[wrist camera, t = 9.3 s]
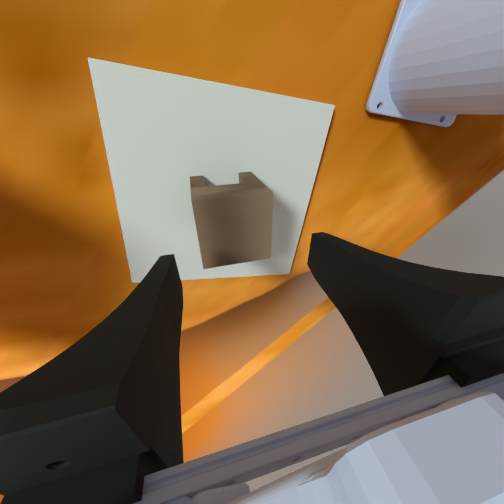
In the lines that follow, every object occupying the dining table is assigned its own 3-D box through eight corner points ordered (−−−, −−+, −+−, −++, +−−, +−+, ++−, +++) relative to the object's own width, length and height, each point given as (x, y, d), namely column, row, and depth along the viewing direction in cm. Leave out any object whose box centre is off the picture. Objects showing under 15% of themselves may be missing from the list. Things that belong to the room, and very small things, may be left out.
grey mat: (330, 105, 17) (335, 105, 16) (287, 270, 25) (289, 273, 25) (91, 59, 12) (87, 57, 12) (133, 278, 21) (132, 282, 20)
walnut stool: (250, 171, 18) (273, 192, 13) (251, 225, 20) (270, 257, 16) (189, 176, 17) (191, 200, 12) (199, 232, 19) (203, 269, 15)
